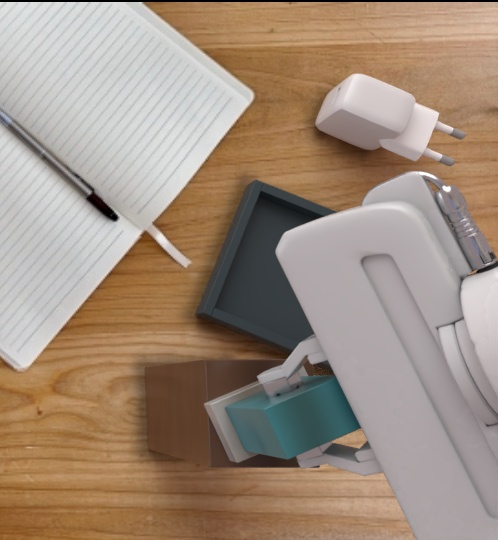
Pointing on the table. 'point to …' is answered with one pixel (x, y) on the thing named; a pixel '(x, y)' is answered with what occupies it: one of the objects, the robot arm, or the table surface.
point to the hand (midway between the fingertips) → (281, 419)
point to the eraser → (282, 418)
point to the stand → (201, 409)
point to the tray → (260, 271)
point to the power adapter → (381, 119)
